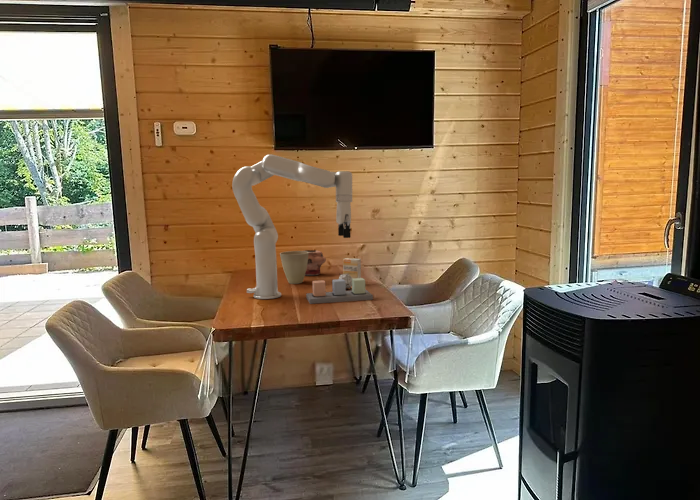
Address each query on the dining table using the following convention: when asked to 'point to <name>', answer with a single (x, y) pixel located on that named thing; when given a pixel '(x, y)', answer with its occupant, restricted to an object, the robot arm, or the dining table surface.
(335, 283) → the slate block
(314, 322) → the dining table surface
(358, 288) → the sage block
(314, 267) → the decorative planter
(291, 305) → the dining table surface
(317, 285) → the terracotta block
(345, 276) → the game die
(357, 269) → the supplement box
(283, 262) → the plant pot
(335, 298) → the board
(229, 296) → the dining table surface
